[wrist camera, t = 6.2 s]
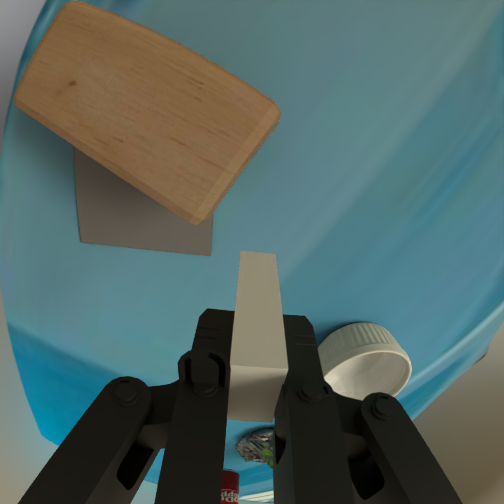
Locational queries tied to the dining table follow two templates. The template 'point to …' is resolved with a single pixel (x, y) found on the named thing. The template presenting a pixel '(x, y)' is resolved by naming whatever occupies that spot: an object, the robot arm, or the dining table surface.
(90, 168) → the mat
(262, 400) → the robot arm
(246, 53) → the dining table surface
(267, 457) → the tree stump
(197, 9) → the dining table surface
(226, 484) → the soda can
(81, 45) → the wooden block
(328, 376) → the ramekin
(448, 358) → the dining table surface
